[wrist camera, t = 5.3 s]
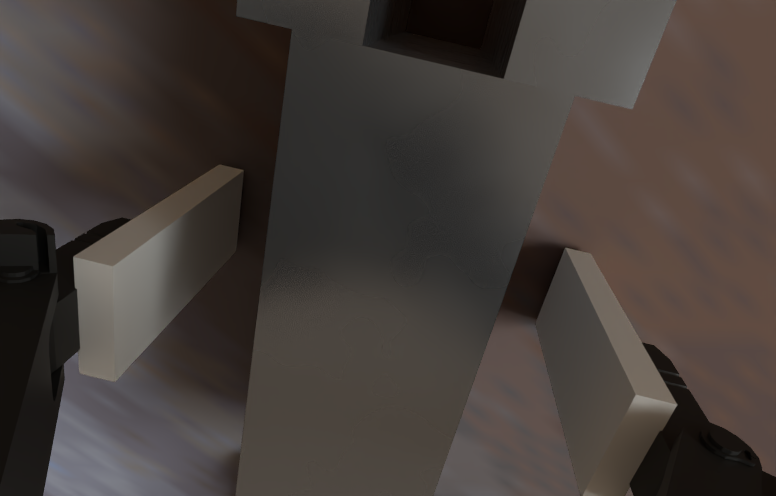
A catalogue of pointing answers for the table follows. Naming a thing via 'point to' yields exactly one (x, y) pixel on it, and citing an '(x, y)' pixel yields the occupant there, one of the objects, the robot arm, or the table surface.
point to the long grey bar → (406, 223)
